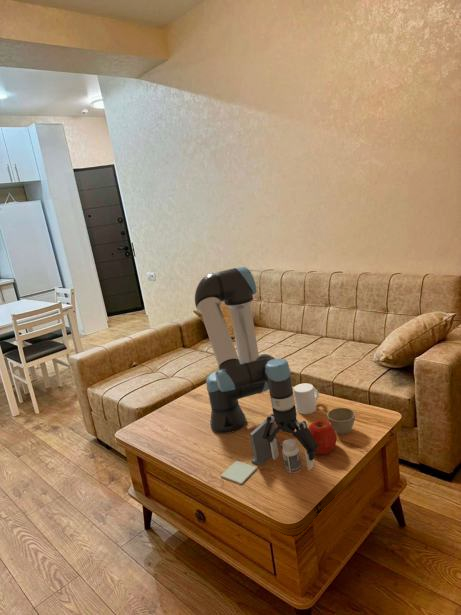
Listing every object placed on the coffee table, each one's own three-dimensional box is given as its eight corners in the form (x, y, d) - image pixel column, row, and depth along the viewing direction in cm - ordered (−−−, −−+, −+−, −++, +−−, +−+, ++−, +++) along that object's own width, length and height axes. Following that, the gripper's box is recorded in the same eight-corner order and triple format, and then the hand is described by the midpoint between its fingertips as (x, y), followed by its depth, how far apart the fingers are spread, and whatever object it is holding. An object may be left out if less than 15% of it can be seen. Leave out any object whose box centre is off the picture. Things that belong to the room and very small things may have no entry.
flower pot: (358, 437, 151) (356, 420, 150) (330, 439, 154) (327, 422, 152) (355, 423, 161) (353, 406, 159) (329, 424, 163) (327, 408, 161)
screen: (252, 462, 148) (246, 433, 145) (271, 443, 158) (267, 414, 155) (261, 465, 146) (255, 435, 143) (280, 445, 155) (276, 417, 152)
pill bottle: (303, 464, 142) (300, 438, 140) (299, 474, 138) (295, 448, 135) (287, 462, 145) (283, 437, 143) (283, 472, 140) (278, 447, 138)
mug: (289, 389, 175) (308, 378, 182) (293, 410, 178) (311, 399, 185) (304, 394, 169) (323, 382, 176) (307, 416, 171) (326, 404, 178)
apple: (339, 456, 143) (336, 429, 140) (308, 458, 145) (304, 432, 142) (336, 438, 153) (333, 413, 150) (307, 440, 155) (303, 415, 153)
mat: (221, 476, 144) (220, 475, 144) (236, 462, 150) (236, 460, 150) (241, 484, 138) (241, 483, 138) (257, 468, 145) (256, 467, 144)
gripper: (246, 404, 141) (256, 459, 146) (312, 418, 125) (321, 479, 130) (258, 394, 146) (268, 447, 151) (323, 406, 130) (331, 465, 135)
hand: (292, 462), depth 140 cm, fingers open, 13 cm apart
